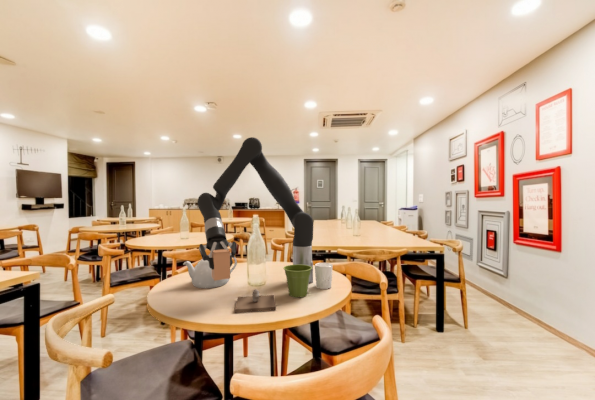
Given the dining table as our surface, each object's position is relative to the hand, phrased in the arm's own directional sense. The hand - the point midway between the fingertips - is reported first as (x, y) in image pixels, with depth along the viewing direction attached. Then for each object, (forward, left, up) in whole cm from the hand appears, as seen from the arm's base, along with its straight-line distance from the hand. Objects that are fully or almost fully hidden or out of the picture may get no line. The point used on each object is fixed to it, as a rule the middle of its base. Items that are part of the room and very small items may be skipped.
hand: (221, 267), depth 95 cm
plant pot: (-29, -8, -15) cm, 34 cm away
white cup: (-42, -16, -15) cm, 47 cm away
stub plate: (-12, 0, -14) cm, 19 cm away
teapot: (+9, -30, -15) cm, 34 cm away
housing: (+1, -2, -4) cm, 5 cm away
